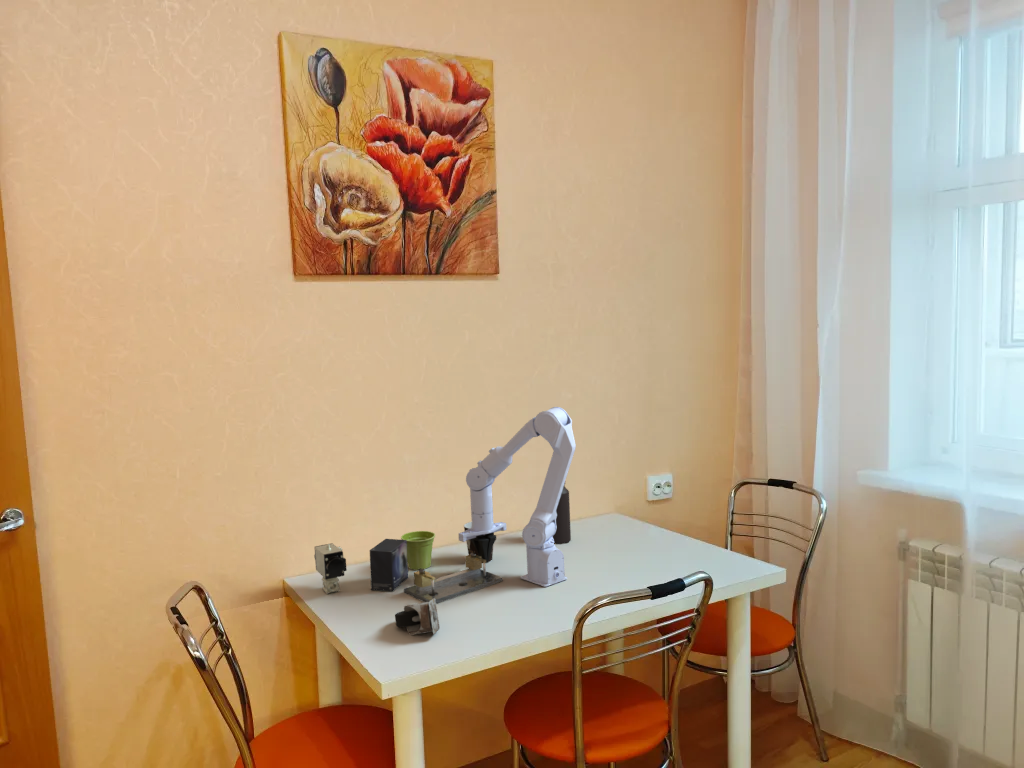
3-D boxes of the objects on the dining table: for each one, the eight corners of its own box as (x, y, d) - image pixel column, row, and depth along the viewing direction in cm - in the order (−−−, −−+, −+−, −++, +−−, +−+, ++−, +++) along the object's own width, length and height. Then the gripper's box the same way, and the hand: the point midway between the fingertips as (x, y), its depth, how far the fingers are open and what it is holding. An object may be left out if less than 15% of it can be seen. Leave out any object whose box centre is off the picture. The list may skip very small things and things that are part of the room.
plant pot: (443, 563, 206) (442, 532, 205) (423, 574, 198) (421, 542, 197) (416, 559, 210) (415, 529, 210) (395, 569, 202) (393, 538, 202)
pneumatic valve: (328, 599, 182) (325, 552, 181) (315, 586, 192) (312, 540, 191) (350, 594, 184) (347, 547, 183) (336, 581, 195) (333, 537, 194)
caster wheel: (403, 631, 167) (446, 624, 167) (390, 642, 156) (436, 634, 155) (398, 601, 168) (441, 593, 167) (385, 609, 157) (431, 601, 156)
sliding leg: (489, 574, 191) (489, 556, 190) (481, 576, 189) (481, 558, 189) (473, 568, 196) (472, 550, 195) (465, 570, 194) (465, 553, 194)
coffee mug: (495, 564, 203) (493, 528, 202) (464, 565, 203) (462, 529, 203) (497, 551, 215) (495, 517, 214) (467, 552, 215) (465, 518, 214)
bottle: (574, 539, 223) (572, 473, 222) (564, 545, 217) (561, 478, 216) (555, 536, 227) (552, 472, 225) (544, 542, 221) (541, 476, 219)
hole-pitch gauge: (502, 581, 190) (501, 558, 189) (431, 605, 175) (430, 580, 175) (474, 570, 199) (472, 548, 198) (404, 592, 184) (402, 569, 184)
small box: (394, 592, 185) (392, 551, 184) (370, 591, 187) (367, 550, 186) (409, 577, 195) (407, 538, 195) (386, 576, 197) (384, 538, 196)
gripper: (493, 504, 202) (496, 552, 203) (450, 514, 193) (453, 565, 194) (510, 508, 197) (512, 558, 198) (467, 519, 188) (469, 571, 189)
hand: (484, 562), depth 196 cm, fingers closed
